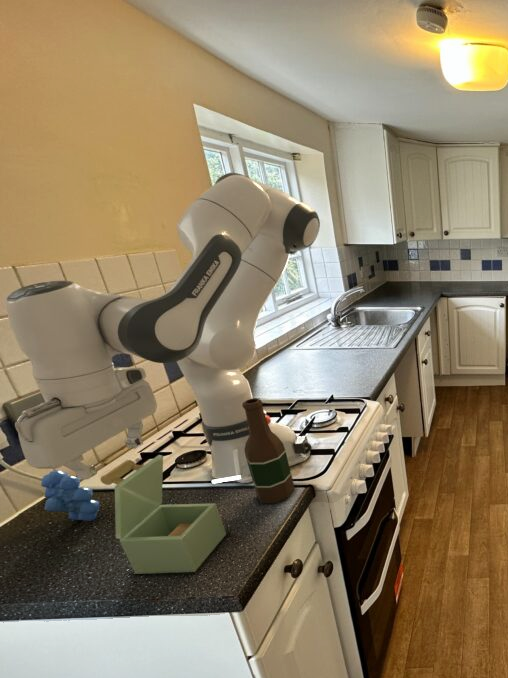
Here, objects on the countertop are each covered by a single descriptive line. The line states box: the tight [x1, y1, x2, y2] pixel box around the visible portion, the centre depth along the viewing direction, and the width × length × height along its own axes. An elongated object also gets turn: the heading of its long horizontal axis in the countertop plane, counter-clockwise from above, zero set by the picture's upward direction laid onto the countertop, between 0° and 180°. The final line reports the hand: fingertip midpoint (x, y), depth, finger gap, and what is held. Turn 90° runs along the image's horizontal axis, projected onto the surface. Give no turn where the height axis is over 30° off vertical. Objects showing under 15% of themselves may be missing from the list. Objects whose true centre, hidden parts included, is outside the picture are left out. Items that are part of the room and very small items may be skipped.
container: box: [119, 503, 227, 575], centre depth 78 cm, size 11×10×8 cm
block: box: [168, 523, 192, 536], centre depth 78 cm, size 4×4×4 cm
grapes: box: [40, 470, 100, 522], centre depth 85 cm, size 12×7×12 cm, turn 77°
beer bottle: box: [242, 397, 295, 504], centre depth 91 cm, size 8×8×24 cm
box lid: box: [100, 454, 164, 540], centre depth 73 cm, size 11×10×5 cm
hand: (113, 460), depth 71 cm, fingers open, 8 cm apart
